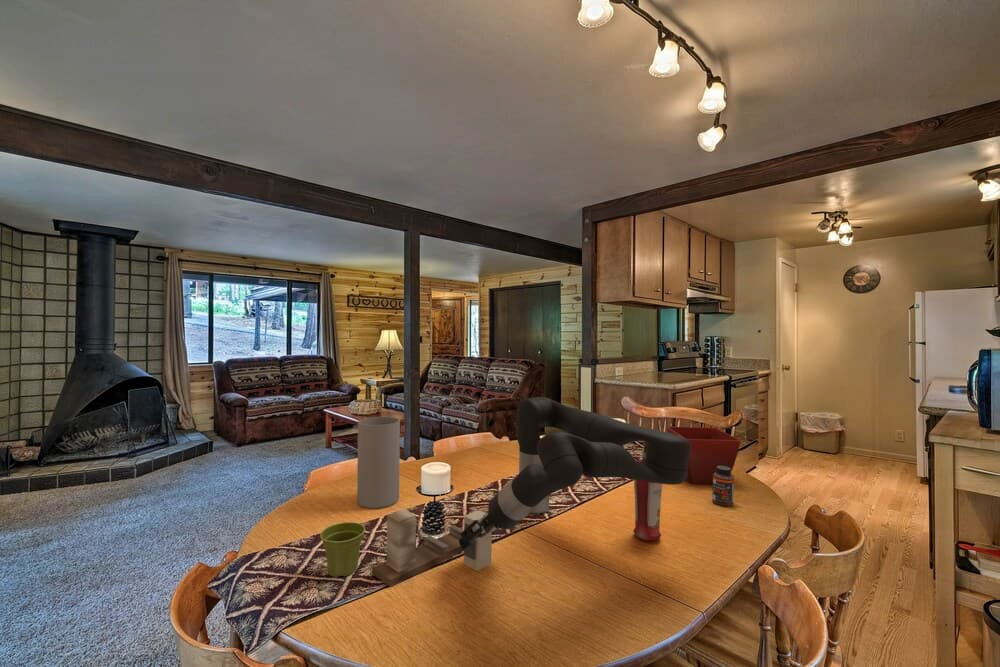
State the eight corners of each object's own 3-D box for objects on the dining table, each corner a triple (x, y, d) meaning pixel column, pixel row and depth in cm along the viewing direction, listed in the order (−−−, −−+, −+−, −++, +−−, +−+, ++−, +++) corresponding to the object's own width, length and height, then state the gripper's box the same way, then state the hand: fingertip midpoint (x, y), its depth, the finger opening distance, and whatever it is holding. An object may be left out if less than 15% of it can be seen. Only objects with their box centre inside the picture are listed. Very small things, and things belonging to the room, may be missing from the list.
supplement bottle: (712, 505, 136) (713, 468, 136) (711, 498, 142) (712, 463, 142) (734, 508, 134) (735, 471, 134) (732, 501, 140) (733, 466, 139)
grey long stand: (454, 536, 114) (455, 488, 113) (473, 545, 109) (474, 495, 109) (372, 574, 96) (372, 517, 96) (390, 587, 91) (391, 527, 91)
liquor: (640, 528, 119) (642, 426, 119) (666, 538, 114) (668, 431, 114) (627, 537, 114) (629, 430, 114) (653, 547, 109) (655, 435, 109)
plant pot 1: (338, 587, 91) (339, 545, 91) (310, 573, 96) (311, 534, 96) (373, 567, 99) (374, 528, 99) (346, 555, 104) (346, 518, 104)
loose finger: (477, 556, 104) (478, 510, 104) (491, 563, 101) (492, 515, 101) (461, 564, 100) (462, 516, 100) (475, 572, 97) (476, 522, 97)
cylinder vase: (407, 501, 136) (407, 420, 136) (371, 513, 127) (371, 427, 127) (384, 490, 145) (385, 415, 144) (349, 501, 135) (350, 420, 135)
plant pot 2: (740, 488, 151) (742, 439, 151) (685, 487, 151) (686, 439, 151) (714, 470, 170) (715, 427, 170) (665, 469, 170) (665, 426, 170)
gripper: (500, 530, 86) (460, 566, 94) (543, 508, 97) (504, 542, 105) (481, 496, 90) (444, 533, 98) (525, 478, 100) (488, 514, 108)
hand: (475, 538), depth 101 cm, fingers open, 8 cm apart
